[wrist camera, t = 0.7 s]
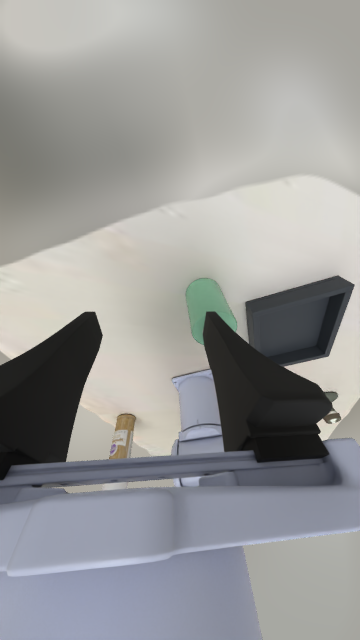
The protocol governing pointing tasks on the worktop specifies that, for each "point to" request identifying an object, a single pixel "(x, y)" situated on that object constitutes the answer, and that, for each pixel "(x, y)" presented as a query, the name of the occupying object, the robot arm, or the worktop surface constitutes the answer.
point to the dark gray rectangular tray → (298, 321)
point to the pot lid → (333, 415)
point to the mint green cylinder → (206, 306)
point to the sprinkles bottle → (121, 445)
